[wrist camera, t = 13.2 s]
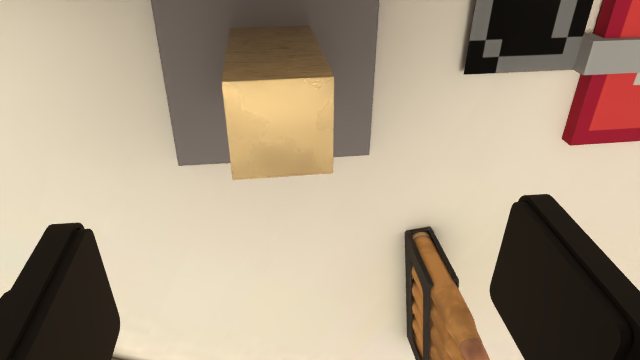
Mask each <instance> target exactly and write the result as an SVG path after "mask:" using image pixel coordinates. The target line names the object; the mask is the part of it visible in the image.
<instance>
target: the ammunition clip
mask: <svg viewBox="0 0 640 360" xmlns="http://www.w3.org/2000/svg"><path fill="white" fill-rule="evenodd" d="M405 263H406V307H407V337H408V340H409V343H410V345H411V348H412V351H413V353H414V356H415V359H416V360H490V359H489V357H488V354H487V352H486V350H485V348H484V346H483V344H482V341H481V339H480V336H479V334H478V332H477V329H476V325H475V322H474V319H473V317H472V314H471V312H470V310H469V309H468V307H467V305H466V303H465V301H464V299H463V297H462V295H461V293H460V291H459V289H458V288H459V279H458V277H457V276H456V274H455V272H454V270H453V268H452V266H451V264H450V262H449V260H448V258H447V257H446V255H445V253H444V251H443V249H442V247H441V245H440V243H439V241H438V239H437V237H436V236H435V234H434V232H433V230H432V228H431V227H430V228H424V229H418V230H412V231H407V232H406V233H405Z"/></svg>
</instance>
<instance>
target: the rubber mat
mask: <svg viewBox="0 0 640 360" xmlns="http://www.w3.org/2000/svg"><path fill="white" fill-rule="evenodd" d="M151 4H152V10H153V16H154V22H155V28H156V34H157V40H158V46H159V52H160V58H161V64H162V70H163V76H164V82H165V87H166V93H167V99H168V105H169V111H170V117H171V123H172V129H173V135H174V141H175V147H176V153H177V159H178V165H179V166H183V165H201V164H219V163H231V161H230V152H229V143H228V134H227V125H226V116H225V107H224V99H223V90H222V76H223V69H224V62H225V55H226V48H227V41H228V34H229V28H246V27H275V26H305V25H310V27H311V29H312V31H313V33H314V35H315V37H316V40H317V42H318V44H319V46H320V48H321V50H322V52H323V54H324V57H325V59H326V61H327V63H328V65H329V67H330V69H331V71H332V74H333V76H334V128H333V157H342V156H360V155H369V150H370V135H371V119H372V104H373V88H374V72H375V57H376V41H377V26H378V10H379V0H151Z"/></svg>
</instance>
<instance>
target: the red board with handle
mask: <svg viewBox="0 0 640 360" xmlns="http://www.w3.org/2000/svg"><path fill="white" fill-rule="evenodd" d="M593 1H594V0H476V5H475V11H474V17H473V23H472V29H471V34H470V40H469V46H468V52H467V58H466V64H465V70H464V74H486V73H509V72H531V71H554V70H575V71H577V72H578V73H580V74H581V76H580V79H579V83H578V86H577V89H576V93H575V96H574V99H573V103H572V106H571V109H570V112H569V116H568V119H567V122H566V126H565V129H564V133H563V136H562V139H563V140H564V141H565V142H567V143H568V144H569V145H584V144H599V143H615V142H630V141H640V0H603V4H602V7H601V10H600V14H599V17H598V20H597V23H596V27H595V30H594V33H584V31H585V28H586V25H587V21H588V18H589V14H590V11H591V8H592V4H593Z"/></svg>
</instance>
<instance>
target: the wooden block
mask: <svg viewBox="0 0 640 360" xmlns="http://www.w3.org/2000/svg"><path fill="white" fill-rule="evenodd" d="M222 90H223V99H224V107H225V116H226V125H227V134H228V143H229V152H230V161H231V170H232V179H233V180H238V179H253V178H268V177H283V176H297V175H312V174H327V173H333V128H334V76H333V74H332V71H331V69H330V67H329V65H328V63H327V61H326V59H325V57H324V54H323V52H322V50H321V48H320V46H319V44H318V42H317V40H316V37H315V35H314V33H313V31H312V29H311V27H310V25H305V26H275V27H246V28H229V34H228V41H227V48H226V55H225V62H224V69H223V76H222Z"/></svg>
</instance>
